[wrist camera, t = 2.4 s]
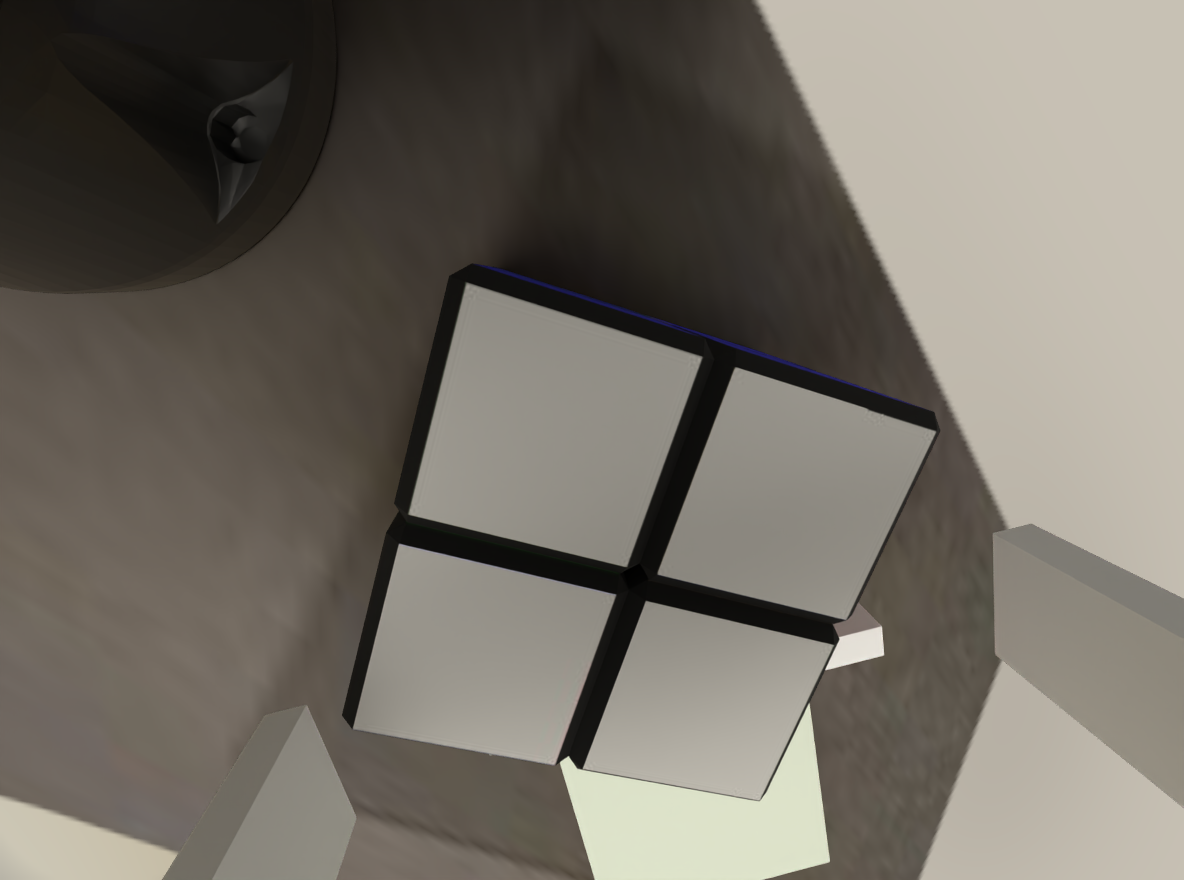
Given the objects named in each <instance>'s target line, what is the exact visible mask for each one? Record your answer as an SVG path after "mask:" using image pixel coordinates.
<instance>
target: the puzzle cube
mask: <svg viewBox="0 0 1184 880" xmlns="http://www.w3.org/2000/svg"><path fill="white" fill-rule="evenodd" d="M939 433H940V428H939V425H938V422H937V419H936V416H935V413H934V412H933V411H930V410H927V409H924V408H921V407H918V406H915V405H912V404H909V403H907V402H904V401H901V400H898V399H895V398H892V397H889V396H886V395H883V394H880V393H878V392H875V391H872V390H869V389H866V388H863V387H860V386H857V385H854V384H852V383H849V382H846V381H843V380H840V379H837V378H834V377H831V376H828V375H825V374H822V373H819V372H816V371H814V370H812V369H809V368H806V367H803V366H800V365H797V364H794V363H791V362H788V361H785V360H783V359H780V358H777V357H774V356H771V355H768V354H765V353H762V352H759V351H756V350H753V349H750V348H747V347H744V346H741V345H738V344H734V343H731V342H728V341H725V340H722V339H719V338H716V337H713V336H709V335H706V334H703V333H700V332H697V331H694V330H691V329H688V328H684V327H681V326H678V325H675V324H672V323H669V322H666V321H663V320H660V319H656V318H653V317H650V316H647V315H642V314H640V313H637V312H634V311H631V310H628V309H625V308H622V307H619V306H616V305H612V304H609V303H606V302H603V301H600V300H597V299H594V298H591V297H587V296H584V295H581V294H578V293H575V292H572V291H569V290H566V289H562V288H559V287H556V286H553V285H550V284H547V283H544V282H541V281H538V280H534V279H531V278H528V277H525V276H522V275H519V274H516V273H513V272H509V271H506V270H503V269H500V268H496V267H490V266H484V265H478V264H470V265H468V266H467V267H465V268H463V269H461V270H459V271H458V272H456V273H454V274H452V275H450V276H449V279H448V284H447V288H446V292H445V296H444V300H443V304H442V308H441V313H440V317H439V321H438V325H437V329H436V333H435V337H434V341H433V346H432V350H431V354H430V358H429V362H428V366H427V370H426V374H425V379H424V383H423V387H422V391H421V395H420V399H419V403H418V407H417V412H416V416H415V420H414V424H413V428H412V432H411V436H410V440H409V445H408V449H407V453H406V457H405V461H404V465H403V469H402V473H401V478H400V482H399V486H398V490H397V494H396V498H395V502H394V504H395V505H396V507H397V508H398V510H399V512H398V514H397V515H396V517H395V519H394V520H393V522H392V524H391V525H390V527H389V529H388V530H387V532H386V536H385V540H384V544H383V548H382V552H381V556H380V560H379V565H378V569H377V573H376V577H375V581H374V585H373V589H372V594H371V598H370V602H369V606H368V610H367V614H366V618H365V622H364V627H363V631H362V635H361V639H360V643H359V647H358V651H357V656H356V660H355V664H354V668H353V672H352V676H351V680H350V685H349V689H348V693H347V697H346V701H345V705H344V709H343V713H342V716H343V717H344V719H345V720H346V721H347V723H348V724H349V725H350V727H351V728H352V729H353V730H356V731H362V732H367V733H373V734H378V735H384V736H390V737H395V738H401V739H406V740H412V741H418V742H423V743H429V744H434V745H440V746H446V747H451V748H457V749H462V750H468V751H474V752H479V753H485V754H490V755H496V756H502V757H507V758H513V759H519V760H524V761H530V762H535V763H541V764H547V765H553V766H555V765H557V764H558V763H560V762H561V761H562V760H564V759H565V758H567V757H568V756H569V758H570V759H571V761H572V762H573V763H574V765H575V766H576V768H577V769H580V770H585V771H591V772H596V773H602V774H608V775H613V776H619V777H624V778H630V779H636V780H641V781H647V782H652V783H658V784H664V785H669V786H675V787H680V788H686V789H691V790H697V791H703V792H708V793H714V794H719V795H725V796H731V797H736V798H742V799H747V800H754V801H760V800H761V799H762V798H763V796H764V795H765V793H766V792H767V790H768V788H769V786H770V784H771V782H772V780H773V778H774V776H775V773H776V771H777V769H778V767H779V765H780V763H781V761H782V759H783V757H784V755H785V753H786V751H787V748H788V746H789V744H790V742H791V740H792V738H793V736H794V734H795V732H796V730H797V728H798V725H799V723H800V721H801V719H802V717H803V715H804V713H805V711H806V709H807V707H808V705H809V703H810V700H811V698H812V696H813V694H814V692H815V690H816V688H817V686H818V684H819V682H820V680H821V677H822V675H823V673H824V671H825V669H826V667H827V665H828V663H829V661H830V659H831V657H832V655H833V652H834V650H835V648H836V646H837V644H838V642H839V640H840V639H839V637H838V634H837V632H836V630H835V628H834V626H833V624H836V623H839V622H843V621H846V620H848V619H849V618H850V617H851V616H852V614H853V612H854V610H855V608H856V606H857V604H858V602H859V600H860V598H861V596H862V594H863V591H864V589H865V587H866V585H867V583H868V581H869V579H870V577H871V575H872V573H873V571H874V568H875V566H876V564H877V562H878V560H879V558H880V556H881V554H882V552H883V550H884V548H885V546H886V543H887V541H888V539H889V537H890V535H891V533H892V531H893V529H894V527H895V525H896V523H897V521H898V518H899V516H900V514H901V512H902V510H903V508H904V506H905V504H906V502H907V500H908V498H909V496H910V493H911V491H912V489H913V487H914V485H915V483H916V481H917V479H918V477H919V475H920V473H921V471H922V468H923V466H924V464H925V462H926V460H927V458H928V456H929V454H930V452H931V450H932V448H933V445H934V443H935V441H936V439H937V437H938V435H939Z"/></svg>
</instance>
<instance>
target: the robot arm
mask: <svg viewBox="0 0 1184 880" xmlns="http://www.w3.org/2000/svg"><path fill="white" fill-rule="evenodd" d="M335 77H336V34H335V21H334V13H333V6H332V0H0V287H4V288H10V289H17V290H24V291H33V292H43V293H63V294H73V293H101V292H128V291H139V290H149V289H155V288H160V287H166V286H170V285H174V284H178V283H181V282H185V281H188V280H191V279H194V278H196V277H199V276H202V275H204V274H206V273H209V272H211V271H213V270H215V269H217V268H219V267H221V266H223V265H225V264H227V263H228V262H230V261H232V260H234V259H235V258H237V257H238V256H240V255H241V254H243V253H244V252H245V251H247V250H248V249H250V248H251V247H252V246H253V245H255V244H256V243H257V242H258V241H259V240H261V239H262V238H263V237H264V236H265V235H266V234H267V233H268V232H269V231H270V230H271V229H272V228H273V227H274V226H275V225H276V224H277V223H278V222H279V220H280V219H281V218H282V217H283V216H284V215H285V214H286V212H287V211H288V210H289V208H290V207H291V205H292V204H293V203H294V201H295V200H296V198H297V197H298V195H299V194H300V192H301V190H302V189H303V187H304V185H305V184H306V182H307V180H308V178H309V176H310V174H311V172H312V170H313V168H314V166H315V163H316V161H317V158H318V155H319V153H320V150H321V148H322V145H323V141H324V138H325V135H326V131H327V128H328V124H329V119H330V115H331V110H332V104H333V97H334V90H335ZM993 567H994V622H995V655H996V656H998V657H999V658H1000V659H1001V660H1003V661H1004V662H1005V663H1006V664H1008V665H1009V666H1010V667H1011V668H1012V669H1014V670H1015V671H1016V672H1017V673H1019V674H1020V675H1021V676H1022V677H1024V678H1025V679H1026V680H1027V681H1029V682H1030V683H1031V684H1032V685H1033V686H1035V687H1036V688H1037V689H1038V690H1040V691H1041V692H1042V693H1043V694H1044V695H1046V696H1047V697H1048V698H1049V699H1050V700H1052V701H1053V702H1054V703H1055V704H1057V705H1058V706H1059V707H1060V708H1062V709H1063V710H1064V711H1065V712H1067V713H1068V714H1069V715H1070V716H1071V717H1073V718H1074V719H1075V720H1076V721H1077V722H1079V723H1080V724H1081V725H1083V726H1084V727H1085V728H1086V729H1087V730H1088V731H1090V732H1091V733H1092V734H1093V735H1095V736H1096V737H1097V738H1098V739H1100V740H1101V741H1102V742H1103V743H1104V744H1106V745H1107V746H1108V747H1109V748H1111V749H1112V750H1113V751H1114V752H1115V753H1117V754H1118V755H1119V756H1120V757H1122V758H1123V759H1124V760H1125V761H1127V762H1128V763H1129V764H1130V765H1131V766H1133V767H1134V768H1135V769H1136V770H1138V771H1139V772H1140V773H1141V774H1142V775H1144V776H1145V777H1146V778H1147V779H1149V780H1150V781H1151V782H1152V783H1154V784H1155V785H1156V786H1157V787H1158V788H1160V789H1161V790H1162V791H1163V792H1165V793H1166V794H1167V795H1168V796H1169V797H1171V798H1172V799H1173V800H1174V801H1176V802H1177V803H1178V804H1179V805H1181V806H1182V807H1183V808H1184V599H1183V598H1181V597H1179V596H1177V595H1175V594H1173V593H1171V592H1169V591H1167V590H1165V589H1163V588H1161V587H1159V586H1157V585H1155V584H1153V583H1151V582H1149V581H1147V580H1145V579H1143V578H1141V577H1139V576H1137V575H1135V574H1133V573H1130V572H1128V571H1126V570H1124V569H1122V568H1120V567H1118V566H1116V565H1114V564H1112V563H1110V562H1108V561H1106V560H1104V559H1102V558H1100V557H1098V556H1096V555H1094V554H1092V553H1090V552H1088V551H1086V550H1084V549H1081V548H1080V547H1078V546H1076V545H1073V544H1072V543H1070V542H1067V541H1065V540H1063V539H1061V538H1059V537H1057V536H1055V535H1053V534H1051V533H1049V532H1047V531H1045V530H1043V529H1041V528H1039V527H1037V526H1035V525H1033V524H1029V525H1024V526H1021V527H1016V528H1012V529H1008V530H1004V531H1000V532H996V533H993ZM356 819H357V817H356V815H355V813H354V811H353V808H352V806H351V804H350V802H349V799H348V797H347V795H346V793H345V790H344V788H343V786H342V784H341V781H340V779H339V777H338V774H337V772H336V770H335V768H334V765H333V763H332V761H331V759H330V756H329V754H328V752H327V750H326V747H325V745H324V743H323V741H322V738H321V736H320V734H319V731H318V729H317V727H316V725H315V722H314V720H313V718H312V716H311V713H310V711H309V709H308V707H307V705H303V706H298V707H294V708H290V709H286V710H282V711H278V712H274V713H270V714H266V715H265V716H264V717H263V719H262V720H261V722H260V724H259V725H258V727H257V728H256V730H255V732H254V733H253V735H252V736H251V738H250V740H249V741H248V743H247V744H246V746H245V748H244V749H243V751H242V752H241V754H240V756H239V757H238V759H237V760H236V762H235V764H234V765H233V767H232V768H231V770H230V772H229V773H228V775H227V776H226V778H225V780H224V781H223V783H222V784H221V786H220V788H219V789H218V791H217V792H216V794H215V796H214V797H213V799H212V801H211V802H210V804H209V805H208V807H207V809H206V810H205V812H204V813H203V815H202V817H201V818H200V820H199V821H198V823H197V825H196V826H195V828H194V829H193V831H192V833H191V834H190V836H189V837H188V839H187V841H186V842H185V844H184V845H183V847H182V849H181V850H180V852H179V853H178V855H177V857H176V858H175V860H174V861H173V863H172V865H171V866H170V868H169V870H168V871H167V873H166V874H165V876H164V878H163V879H162V880H336V879H337V876H338V873H339V870H340V867H341V864H342V861H343V858H344V855H345V852H346V849H347V846H348V843H349V840H350V837H351V834H352V831H353V828H354V825H355V822H356Z"/></svg>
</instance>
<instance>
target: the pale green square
mask: <svg viewBox="0 0 1184 880" xmlns="http://www.w3.org/2000/svg"><path fill="white" fill-rule="evenodd" d="M560 764H561V768H562V771H563V774H564V778H565V781H566V784H567V788H568V791H569V794H570V798H571V801H572V804H573V808H574V811H575V814H576V818H577V821H578V825H579V828H580V831H581V835H582V838H583V841H584V845H585V848H586V851H587V855H588V858H589V861H590V865H591V868H592V871H593V875H594V878H595V880H763V879H767V878H771V877H775V876H778V875H782V874H786V873H790V872H793V871H797V870H801V869H805V868H809V867H812V866H816V865H820V864H824V863H827V862H830V859H829V852H828V844H827V836H826V828H825V821H824V813H823V805H822V797H821V790H820V782H819V774H818V766H817V758H816V751H815V743H814V735H813V727H812V720H811V712H810V704H809V705H808V707H807V709H806V711H805V713H804V715H803V717H802V719H801V721H800V723H799V725H798V728H797V730H796V732H795V734H794V736H793V738H792V740H791V742H790V744H789V746H788V748H787V751H786V753H785V755H784V757H783V759H782V761H781V763H780V765H779V767H778V769H777V771H776V773H775V776H774V778H773V780H772V782H771V784H770V786H769V788H768V790H767V792H766V793H765V795H764V796H763V798H762V799H761V800H760V801H754V800H747V799H742V798H736V797H731V796H725V795H719V794H714V793H708V792H703V791H697V790H691V789H686V788H680V787H675V786H669V785H664V784H658V783H652V782H647V781H641V780H636V779H630V778H624V777H619V776H613V775H608V774H602V773H596V772H591V771H585V770H580V769H577V768H576V766H575V765H574V763H573V762H572V761H571V759H570V758H569V756H568V757H567V758H565V759H564V760H562V761H561V762H560Z"/></svg>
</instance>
